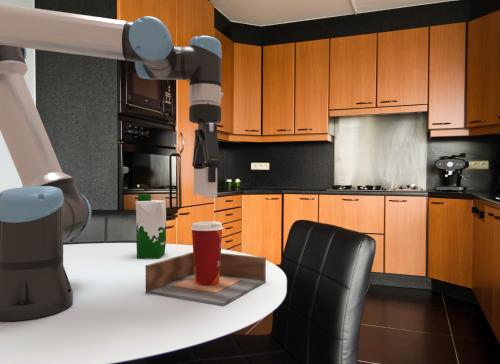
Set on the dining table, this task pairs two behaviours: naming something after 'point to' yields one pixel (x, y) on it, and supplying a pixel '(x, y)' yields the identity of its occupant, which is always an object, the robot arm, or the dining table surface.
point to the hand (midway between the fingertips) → (204, 196)
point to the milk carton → (150, 227)
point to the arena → (227, 290)
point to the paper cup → (207, 252)
